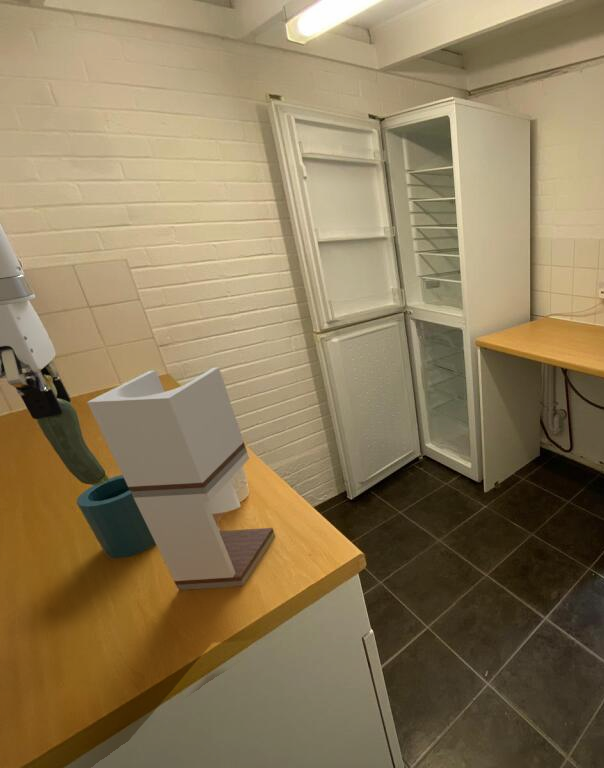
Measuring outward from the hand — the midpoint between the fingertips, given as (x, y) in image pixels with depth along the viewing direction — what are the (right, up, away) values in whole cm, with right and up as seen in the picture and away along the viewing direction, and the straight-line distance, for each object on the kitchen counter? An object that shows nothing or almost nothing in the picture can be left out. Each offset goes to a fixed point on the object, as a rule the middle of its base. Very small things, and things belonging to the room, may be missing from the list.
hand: (52, 409), depth 65 cm
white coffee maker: (+20, -28, +11) cm, 36 cm away
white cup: (+10, -21, +27) cm, 36 cm away
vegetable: (0, -14, +6) cm, 15 cm away
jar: (-1, -26, +16) cm, 31 cm away
